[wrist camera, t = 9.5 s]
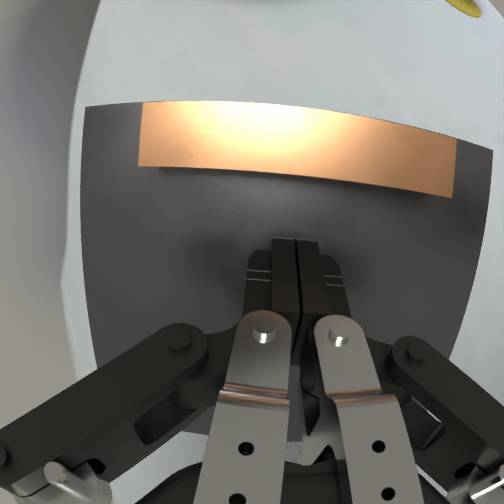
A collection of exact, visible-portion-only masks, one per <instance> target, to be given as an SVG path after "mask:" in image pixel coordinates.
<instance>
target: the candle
mask: <svg viewBox="0 0 504 504" xmlns="http://www.w3.org/2000/svg"><path fill="white" fill-rule="evenodd" d="M446 1H447V2H448V3H450V4H451V5H452V6H454V7H455V8H457V9H458V10H460V11H461V12H463V13H465V14H467V15H469V16H472V17H476V18H477V17H480V16H481V11H480V9H479V8H478V6H477V5H476V4H475V3H474V2H473V1H472V0H446Z"/></svg>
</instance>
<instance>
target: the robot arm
mask: <svg viewBox="0 0 504 504" xmlns="http://www.w3.org/2000/svg"><path fill="white" fill-rule="evenodd" d="M290 358H291V365H294V366H300V377H299V380H298V383H297V393H298V401H299V410H300V419H301V428H302V439H303V442H302V450H301V465H300V464H296V463H292V462H288V461H285V451H286V441H287V430H288V418H289V397H287V391H288V378H289V364H290ZM412 397H414V398H415V399H416V400H417V401H418V402H419V403H421V404H422V405H423V406H424V407H425V408H426V409H427V410H429V411H430V412H431V413H432V414H433V415H434V416H435V417H437V418H438V419H439V420H440V421H441V422H439V421H437V420H436V419H435V418H434V417H432V416H431V415H430V414H429V413H428V412H427V411H426V410H424V409H423V408H422V407H421V406H420V405H419V404H418V403H417V402H415V401H414V400H413V399H412ZM211 406H216V407H215V412H214V416H213V420H212V425H211V429H210V433H209V438H208V442H207V446H206V451H205V455H204V459H203V462H200V463H196V464H193V465H190V466H187V467H185V468H183V469H181V470H179V471H177V472H176V473H174V474H172V475H171V476H169V477H168V478H167V479H165V480H164V481H163V482H162V483H160V484H159V485H158V486H157V487H155V488H154V489H153V490H152V491H150V492H149V493H148V494H146V495H145V496H144V497H143V498H141V499H140V500H139V501H137V502H136V503H135V504H504V406H503V405H501V404H500V403H499V402H498V401H497V400H496V399H494V398H493V397H492V396H491V395H490V394H489V393H487V392H486V391H485V390H484V389H483V388H482V387H480V386H479V385H478V384H477V383H476V382H475V381H473V380H472V379H471V378H470V377H469V376H467V375H466V374H465V373H464V372H463V371H461V370H460V369H459V368H458V367H457V366H455V365H454V364H453V363H452V362H451V361H449V360H448V359H447V358H446V357H444V356H443V355H442V354H441V353H440V352H438V351H437V350H436V349H435V348H433V347H432V346H431V345H430V344H429V343H427V342H426V341H424V340H423V339H421V338H418V337H415V336H404V337H401V338H399V339H398V340H397V341H396V342H395V343H394V345H390V344H386V343H383V342H379V341H376V340H373V339H370V338H368V337H367V336H365V335H364V332H363V330H362V328H361V327H360V325H359V324H358V323H357V322H355V321H354V320H352V317H351V312H350V308H349V304H348V300H347V295H346V291H345V287H344V283H343V279H342V275H341V271H340V267H339V265H338V263H337V262H336V261H335V260H334V259H333V258H332V256H330V255H320V252H319V247H318V242H317V240H312V239H300V238H296V239H295V242H294V238H287V237H275V236H272V242H271V251H267V250H255V251H254V252H253V254H252V255H251V256H250V257H249V259H248V268H247V277H246V286H245V295H244V304H243V312H242V316H241V318H240V320H239V321H238V323H237V324H236V325H234V326H233V327H232V328H230V329H228V330H225V331H222V332H218V333H212V334H206V335H205V334H204V333H203V331H202V330H201V329H199V328H198V327H196V326H194V325H192V324H188V323H173V324H170V325H167V326H165V327H163V328H161V329H160V330H158V331H157V332H155V333H154V334H152V335H150V336H149V337H147V338H146V339H144V340H143V341H141V342H139V343H138V344H136V345H135V346H133V347H132V348H130V349H128V350H127V351H125V352H124V353H122V354H121V355H119V356H117V357H116V358H114V359H113V360H111V361H110V362H108V363H106V364H105V365H103V366H102V367H100V368H99V369H97V370H95V371H94V372H92V373H91V374H89V375H87V376H86V377H84V378H83V379H81V380H79V381H78V382H76V383H75V384H73V385H71V386H70V387H68V388H67V389H65V390H63V391H62V392H60V393H59V394H57V395H55V396H54V397H52V398H51V399H49V400H47V401H46V402H44V403H43V404H41V405H39V406H38V407H36V408H35V409H33V410H31V411H29V412H28V413H26V414H25V415H23V416H21V417H20V418H18V419H16V420H15V421H13V422H11V423H10V424H8V425H7V426H5V427H3V428H2V429H0V487H1V488H3V489H5V490H7V491H8V492H10V493H11V494H12V495H13V496H14V498H15V499H16V501H17V503H18V504H111V501H112V490H111V487H110V485H109V483H110V482H111V481H113V480H114V479H116V478H117V477H119V476H120V475H122V474H123V473H125V472H126V471H127V470H129V469H130V468H132V467H133V466H135V465H136V464H137V463H139V462H140V461H142V460H143V459H144V458H146V457H147V456H148V455H150V454H151V453H153V452H154V451H155V450H157V449H158V448H159V447H161V446H162V445H163V444H165V443H166V442H167V441H169V440H170V439H171V438H172V437H174V436H175V435H176V434H178V433H179V432H180V431H182V430H183V429H184V428H185V427H187V426H188V425H189V424H190V423H192V422H193V421H194V420H195V419H197V418H198V417H199V416H200V415H202V414H203V413H204V412H205V411H206V410H207V409H208V408H209V407H211ZM415 463H416V464H417V465H418V466H419V467H420V468H421V469H422V470H423V471H424V472H426V473H427V474H428V475H429V476H430V477H431V478H432V479H433V480H434V481H436V482H437V483H438V484H439V485H440V486H441V487H442V488H444V489H445V490H446V491H447V492H448V493H447V496H446V497H444V496H442V495H441V494H440V493H439V492H438V491H437V490H436V489H435V488H434V487H433V486H432V485H431V484H430V483H429V482H428V481H427V480H426V479H425V478H424V477H423V476H421V475H420V474H419V473H418V472H417V468H416V464H415Z"/></svg>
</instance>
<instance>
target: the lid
mask: <svg viewBox="0 0 504 504" xmlns="http://www.w3.org/2000/svg"><path fill="white" fill-rule="evenodd" d="M492 159H493V150H491V149H488V148H485V147H482V146H479V145H476V144H473V143H470V142H467V141H464V140H460V139H457V138H454V137H450V136H447V135H443V134H440V133H436V132H432V131H429V130H425V129H421V128H417V127H413V126H409V125H404V124H400V123H395V122H391V121H386V120H381V119H376V118H371V117H366V116H360V115H355V114H349V113H342V112H336V111H329V110H322V109H315V108H306V107H298V106H288V105H278V104H266V103H251V102H231V101H155V102H135V103H121V104H109V105H99V106H90V107H85V117H84V127H83V140H82V156H81V185H80V214H81V243H82V259H83V272H84V283H85V292H86V301H87V309H88V316H89V323H90V330H91V336H92V342H93V348H94V353H95V359H96V364H97V369H99V368H100V367H102V366H103V365H105V364H106V363H108V362H110V361H111V360H113V359H114V358H116V357H117V356H119V355H121V354H122V353H124V352H125V351H127V350H128V349H130V348H132V347H133V346H135V345H136V344H138V343H139V342H141V341H143V340H144V339H146V338H147V337H149V336H150V335H152V334H154V333H155V332H157V331H158V330H160V329H161V328H163V327H165V326H167V325H170V324H173V323H188V324H192V325H194V326H196V327H198V328H199V329H201V330H202V331H203V333H204V334H205V335H206V334H212V333H218V332H222V331H225V330H228V329H230V328H232V327H233V326H234V325H236V324H237V323H238V321H239V320H240V318H241V316H242V312H243V304H244V295H245V286H246V277H247V268H248V259H249V257H250V256H251V255H252V254H253V252H254V251H255V250H267V251H271V242H272V236H275V237H287V238H294V242H295V239H296V238H300V239H312V240H317V242H318V247H319V252H320V255H330V256H332V258H333V259H334V260H335V261H336V262H337V263H338V265H339V267H340V271H341V275H342V279H343V283H344V287H345V291H346V295H347V300H348V304H349V308H350V312H351V317H352V320H354V321H355V322H357V323H358V324H359V325H360V327H361V328H362V330H363V332H364V335H365V336H367V337H368V338H370V339H373V340H376V341H379V342H383V343H386V344H390V345H394V343H395V342H396V341H397V340H398V339H399V338H401V337H404V336H415V337H418V338H421V339H423V340H424V341H426V342H427V343H429V344H430V345H431V346H432V347H433V348H435V349H436V350H437V351H438V352H440V353H441V354H442V355H443V356H444V357H446V358H447V359H448V360H449V358H450V355H451V352H452V350H453V347H454V344H455V341H456V338H457V336H458V333H459V330H460V327H461V324H462V320H463V317H464V314H465V311H466V307H467V304H468V300H469V297H470V293H471V289H472V286H473V282H474V278H475V274H476V269H477V265H478V261H479V256H480V251H481V246H482V241H483V235H484V230H485V223H486V217H487V210H488V203H489V194H490V185H491V174H492ZM299 377H300V366H294V365H291V358H290V364H289V378H288V391H287V397H289V418H288V430H287V441H301V442H303V439H302V428H301V419H300V410H299V401H298V393H297V383H298V380H299ZM412 399H413V400H414V401H415V402H417V403H418V404H419V405H420V406H421V407H422V408H423V409H424V410H426V411H427V409H426V408H425V407H424V406H423V405H422V404H421V403H419V402H418V401H417V400H416V399H415V398H414V397H412ZM215 407H216V406H211V407H209V408H208V409H207V410H206V411H205V412H204V413H203V414H202V415H200V416H199V417H198V418H197V419H195V420H194V421H193V422H192V423H190V424H189V425H188V426H187V427H185V428H184V429H183V430H182V431H185V432H191V433H198V434H205V435H209V433H210V429H211V425H212V420H213V416H214V412H215Z"/></svg>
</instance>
